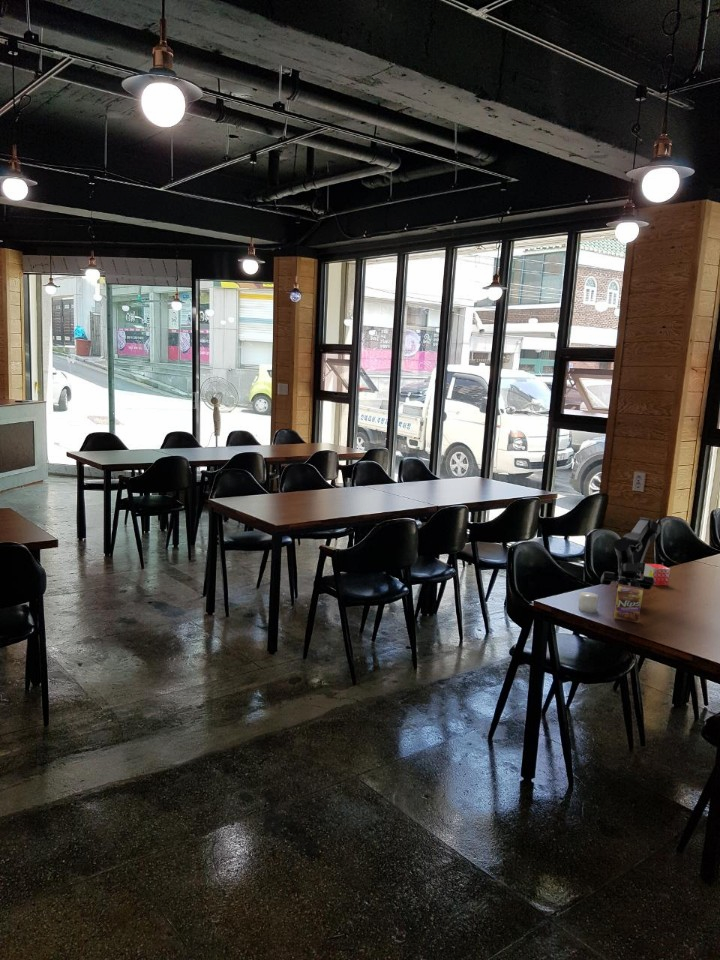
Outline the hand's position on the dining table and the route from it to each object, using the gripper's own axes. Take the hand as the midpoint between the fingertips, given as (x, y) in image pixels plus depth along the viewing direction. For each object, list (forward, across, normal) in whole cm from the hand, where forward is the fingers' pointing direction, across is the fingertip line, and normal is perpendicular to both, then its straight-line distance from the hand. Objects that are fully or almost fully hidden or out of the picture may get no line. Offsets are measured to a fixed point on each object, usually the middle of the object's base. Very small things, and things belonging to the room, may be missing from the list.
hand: (628, 600), depth 268 cm
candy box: (+5, 0, +5) cm, 7 cm away
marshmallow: (0, -13, +11) cm, 17 cm away
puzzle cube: (-38, +27, +48) cm, 67 cm away
